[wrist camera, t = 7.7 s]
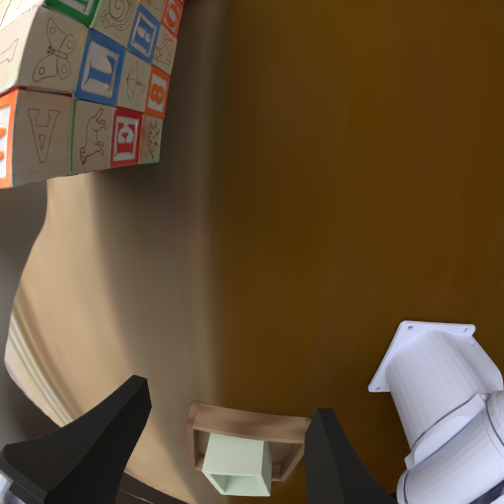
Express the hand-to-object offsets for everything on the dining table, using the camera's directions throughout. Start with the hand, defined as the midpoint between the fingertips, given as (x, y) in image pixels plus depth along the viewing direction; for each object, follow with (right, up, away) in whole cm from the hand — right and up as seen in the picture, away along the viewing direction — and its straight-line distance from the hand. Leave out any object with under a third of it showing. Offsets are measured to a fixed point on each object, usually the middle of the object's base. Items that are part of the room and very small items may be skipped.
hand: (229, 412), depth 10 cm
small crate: (0, -15, +15) cm, 21 cm away
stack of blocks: (-7, +23, +4) cm, 24 cm away
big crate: (0, -15, +16) cm, 22 cm away
